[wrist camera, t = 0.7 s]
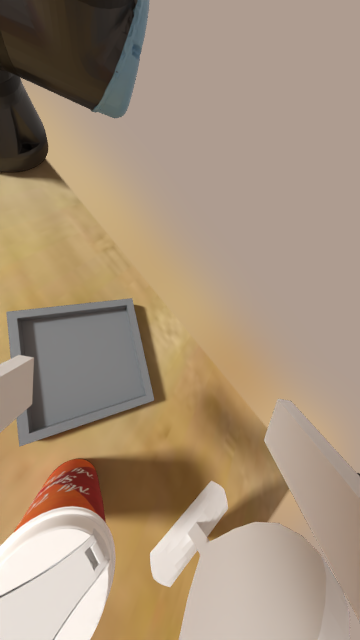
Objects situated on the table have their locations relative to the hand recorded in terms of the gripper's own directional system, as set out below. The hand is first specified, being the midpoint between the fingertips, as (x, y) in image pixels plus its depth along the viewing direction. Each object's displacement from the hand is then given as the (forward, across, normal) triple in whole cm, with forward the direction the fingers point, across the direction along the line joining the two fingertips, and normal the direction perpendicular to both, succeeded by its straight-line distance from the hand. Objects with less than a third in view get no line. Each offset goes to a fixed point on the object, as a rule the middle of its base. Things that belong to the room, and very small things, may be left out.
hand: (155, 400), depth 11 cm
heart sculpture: (+12, +9, -28) cm, 32 cm away
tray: (+18, -11, -8) cm, 22 cm away
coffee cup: (+11, -8, -21) cm, 25 cm away
